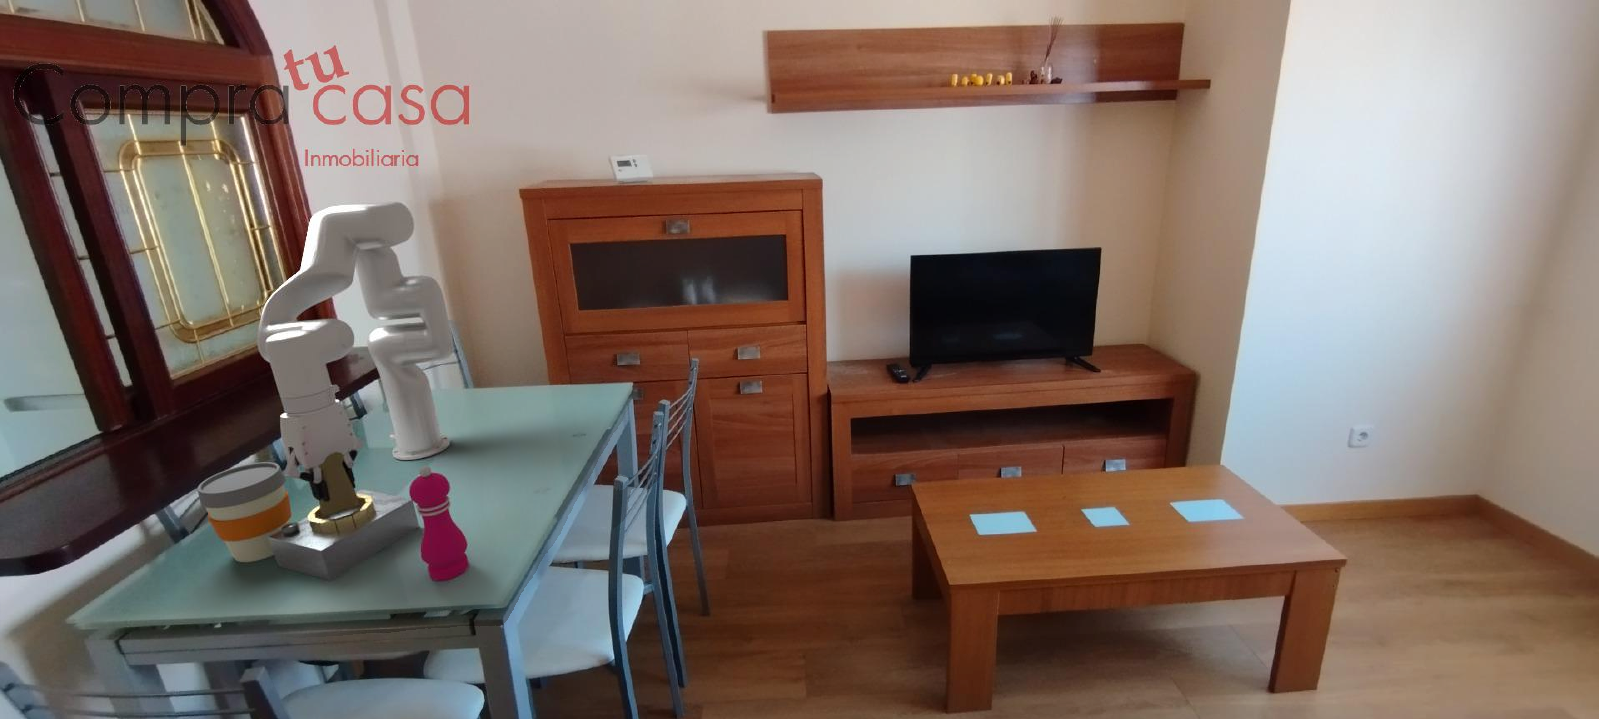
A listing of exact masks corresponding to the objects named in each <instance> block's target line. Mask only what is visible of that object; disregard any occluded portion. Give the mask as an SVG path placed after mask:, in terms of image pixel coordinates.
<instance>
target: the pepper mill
mask: <svg viewBox="0 0 1599 719" xmlns="http://www.w3.org/2000/svg"><path fill="white" fill-rule="evenodd" d="M418 473H419V476H417V477H416V478H414V479H413V481H412V482H411V484H410V485H409V488H408V489H409V492H408V493H409V497H410V499H412V501H413V503H415V504H416V507H415V508H416V510H417V514H418V515H419V516H421V518H422V521H423V522H422V523H423V535H422V539H421V543H420V550H419V551H420V557H421V560H422V561H423V562H424V563H425V564H427V572H428V575H429V577H430V579H431V580H434V581H439V582H441V581H447V580H452V579H455V578H456V577H458V576H460V575H462V574H463V573H464V572H466V571H467V570H468V567H469V565H470V563H469V558H468V555H467V553H466V551H467V549H468V541H467V538H466V536H465V535H464V532H463V531H462V530H461V529H460V528H459V526H458V525H457V524H456V523H455V522H454V520H453V519H452V517H451V513H450V507H451V505H452V503H451V501H450V497H449V496H448V495H449V493H450V490H451V487H450V486H451V485H450V481H449V480H448V478H447V477H446V476H445V475H444V474H442V473H439V472H432V468H431V467H429V466H422V467H421V468H420V469H419V472H418Z"/></svg>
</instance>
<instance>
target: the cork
mask: <svg viewBox="0 0 1599 719" xmlns="http://www.w3.org/2000/svg"><path fill="white" fill-rule="evenodd" d="M343 459H344V455H343V454H342V453H340V452H335V453H332V454H330V455H329V456H328V457H327V458H326V459H325V461H324V463H322V464H321V465H319V466H320V468H321V479H322V480H323V481H326V484H327V487H328V493H329V497H330V500H329V501H328V502H325V501H323V499H322V500H321V501H320V500H318V502H319V505H320V510H321V511H322V512H325V513H331V512H337V511H341V510H344V509H347V508H349V507H351V506H353V505H354V504H356V503H357V502H358V496H357V494H356V492H357V491H356V490H355V488H353V486H352V484H351V482H350V480H349V478H348V475H347V473H346V471H345V469H344V467H343V465H342V462H343Z"/></svg>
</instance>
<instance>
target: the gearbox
mask: <svg viewBox="0 0 1599 719" xmlns="http://www.w3.org/2000/svg"><path fill="white" fill-rule="evenodd" d="M355 492H356V494H357V496H358V502H357V503H356V504H354V505H353V506H351V507H349V508H347V509H344V510H341V511H337V512H331V513H325V512H322V511H321V510H320V504H319V505H317V506H316V507H314V508H313V509H311V511H310V512H309V513H307V517H304V518H303V519H301V520H298V521H295V522H290V523H289V524H287V525H285V526H283V527H282V530H281V531H279V532H277V533H275V534H273V535H271V536H269V540H270V543H271V546H272V549H273V552H274V555H273V556H274V558H275V561H276V564H277V566H278V567H281V568H284V569H286V570H287V569H289V570H292V571H295V572H298V573H303V574H306V575H309V576H312V577H316V578H320V579H323V580H327V581H332V580H334V579H335V578H337V577H339V576H341V575H342V574H344V573H346V572H347V571H348V570H351V569H352V568H354V567H355V566H357V565H358V564H360V563H362V562H363V561H365V560H367V559H369V558H370V557H372V556H373V555H375V554H377V553H379V552H380V551H382V550H383V549H385V548H387V547H389V545H391V544H394V543H395V542H396V541H398V540H400V539H401V538H403V537H404V536H406V535H408V534H410V533H411V532H414V530H416V529H417V528H420V525H419V520H418V516H417V512H416V509H415V508H416V507H415V505H414V501H412V499H411V498H407V497H403V496H397V495H392V494H386V493H383V492H378V491H373V490H368V489H363V488H362V489H360V490H357V491H355Z"/></svg>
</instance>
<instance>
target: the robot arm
mask: <svg viewBox="0 0 1599 719" xmlns="http://www.w3.org/2000/svg"><path fill="white" fill-rule="evenodd" d="M414 228H415V221H414V217H413V215H412V213H411V211H410V209H409V208H408V207H407V206H406V205H405V204H403V203H402V202H399V201H387V202H385V201H384V202H370V203H352V204H351V203H350V204H342V205H341V204H340V205H335V206H330V207H327V208H325V209H323V210H321V211H318V212H317V213H315V214H313V216H312V217H311V218H310V221H309V225H308V229H307V230H308V231H307V236H306V240H305V245H304V249H303V253H302V254H303V255H302V260H301V266H300V270H299V271H298V272H296V274H294V275H293V276H291V277H290V278H289V279H288V280H286V281H285V282H284V283H283V284H282V285H281V286H279V288H278V289H277V290H275V291H274V293H273V294H272V295H270V296H269V298H268V300H267V301H266V303H265V304H264V306H263V308H262V311H261V316H260V320H259V323H258V324H259V325H258V329H257V330H258V331H257V336H256V337H257V338H256V339H257V349H258V352H259V353H260V356H261V357H262V358H263V359H264V360H265V361H266V362H268V363H269V364H270V368H271V370H272V371H271V372H272V374H273V377H274V381H275V384H276V388H277V391H278V393H279V397H280V400H281V404H282V406H283V411H284V413H282V414H280V419H279V421H280V422H279V423H280V424H279V425H280V428H279V429H280V435H281V437H280V438H281V441H282V446H283V451H284V454H285V459H286V462H287V463H286V466H285V469H284V472H283V475H284V477H285V478H291V479H299V480H302V481H305V482H308V483H309V486H310V490H311V493H312V496H313V498H314V499H315V500H317V501H319V500H320V501H321V500H322V499H323V501H325V502H328V501H329V500H330V497H329V493H328V487H327V484H326V481H323V480H322V479H321V468H320V466H319V465H321V464H322V463H324V461H325V459H326V458H327V457H328V456H329V455H330V454H332V453H335V452H340V453H342V454H343V455H344V459H343V462H342V465H343V467H344V469H345V471H346V473H347V475H348V478H349V480H350V482H351V484H352V486H353V488H354V489H356V483H355V481H356V479H355V475H354V472H353V469H352V468H354V465H355V463H354V462H355V460H356V458H357V456H358V452H360V450H361V449H362V448H363V446H364V445H365V442H364V440H362V439H361V438H359V436H357V435H355V432H354V430H353V426H352V424H351V421H350V420H349V416H348V414H347V412H346V410H345V409H344V406H343V405H342V403H341V401H340V400H339V399H336V398H337V397H336V393H337V392H340V387H339V385H338V384H332V382H331V379H330V378H331V377H330V375H329V371H328V368H327V364H328V363H331V362H334V361H338V360H340V359H342V358H345V356H347V355H348V354H350V352H351V351H352V349H353V348H354V345H355V334H354V331H353V328H352V327H351V326H350V324H348V323H346V322H345V321H343V320H340V319H337V318H321V319H311V320H310V319H309V320H298V321H295V320H296V319H297V318H298V317H299V316H300V315H301V314H302V313H303V312H304V311H306V310H308V309H309V308H311V307H313V306H315V305H317V304H319V303H321V302H324V301H325V300H329V299H331V298H332V297H335V296H336V295H338V294H341V293H342V292H344V291H346V290H347V289H348V288H350V287H351V285H352V284H353V281H354V276H355V270H356V273H357V277H358V282H359V286H360V290H361V293H362V299H363V301H364V306H365V308H366V310H367V312H368V314H369V316H370V317H372V318H373V319H375V320H379V321H393V320H404V319H405V320H406V319H417V318H420V319H421V321H419V322H407V323H406V322H405V323H398V324H397V323H396V324H388V325H383V326H380V327H377V328H375V329H373V330H372V331H371V332H370V333H369V335H368V337H367V349H368V352H369V354H370V357H371V359H372V360H373V363H374V364H375V367H376V369H377V372H378V374H379V377H380V380H381V383H382V387H383V391H384V396H385V398H386V402H387V407H388V411H389V416H390V417H391V418H390V419H391V421H392V422H391V423H392V425H393V430H394V431H393V434H390V435H389V439H390V441H395V444H396V446H395V447H393V448H392V452H391V453H392V455H393V458H395V459H397V460H401V461H411V460H412V461H413V460H419V459H424V458H428V457H431V456H434V455H437V454H439V453H441V452H443V451H445V450H446V449H447V448H448V447H449V446H450V444H451V439H450V437H449V436H447V435H444V434H442V431H441V427H440V423H439V419H438V415H437V410H436V406H435V402H434V398H433V393H432V389H431V384H430V380H429V378H428V376H427V374H426V373H425V372H424V370H422V369H421V367H420V366H418V365H417V364H424V363H433V362H441V361H444V360H447V359H449V358H450V357H451V356H452V354H453V351H454V341H453V340H454V339H453V333H452V329H451V324H450V321H449V316H448V312H447V307H446V302H445V297H444V294H443V291H442V289H441V286H440V284H439V282H438V281H437V280H436V279H434V278H433V277H431V276H429V275H412V276H411V275H410V276H404V275H403V273H402V271H401V270H402V269H401V267H400V262H399V259H398V258H399V257H398V256H397V253H396V252H395V250H393V249H392V247H395V246H398V245H400V244H401V245H402V244H403V243H406V242H407V241H409V240H410V238H411V237H412V236H413V233H414V230H415V229H414ZM299 466H301V467H302V469H303V471H301V470H298V469H299Z"/></svg>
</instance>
